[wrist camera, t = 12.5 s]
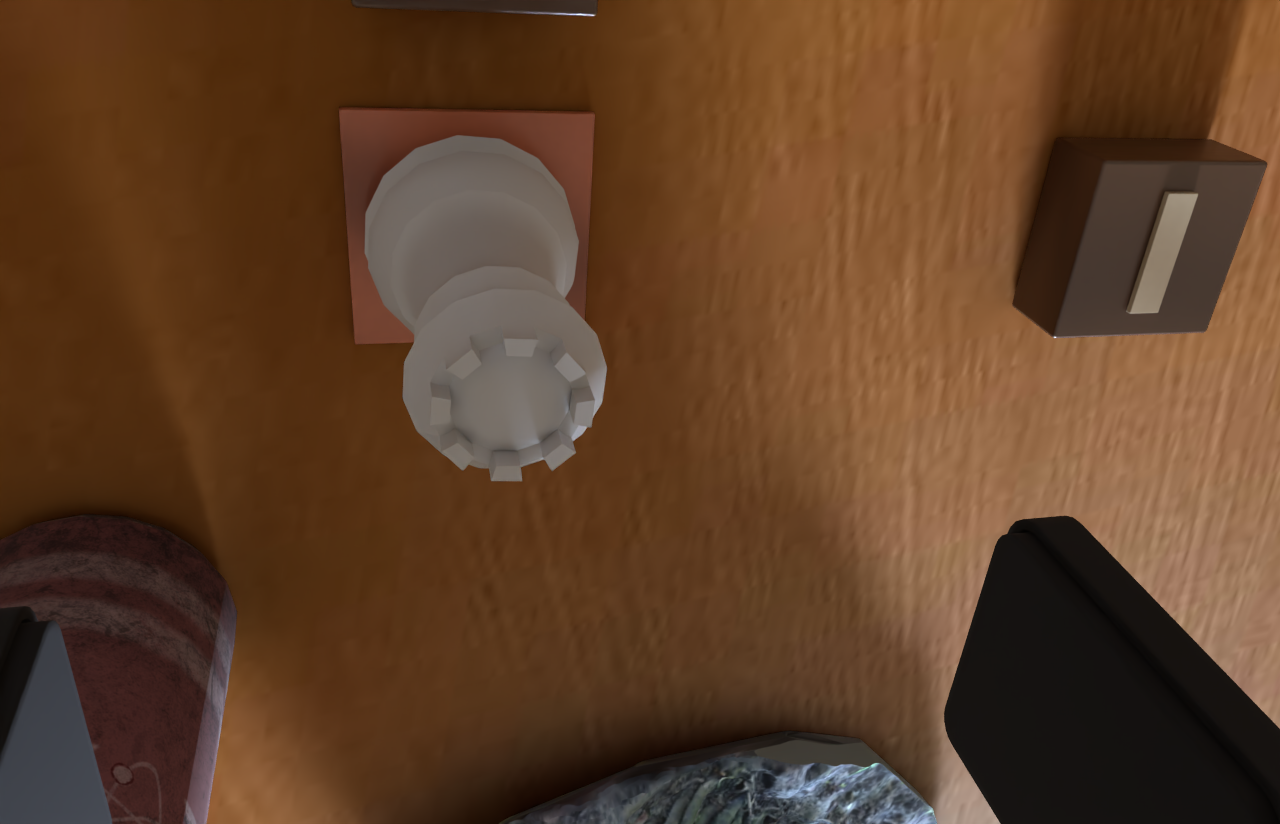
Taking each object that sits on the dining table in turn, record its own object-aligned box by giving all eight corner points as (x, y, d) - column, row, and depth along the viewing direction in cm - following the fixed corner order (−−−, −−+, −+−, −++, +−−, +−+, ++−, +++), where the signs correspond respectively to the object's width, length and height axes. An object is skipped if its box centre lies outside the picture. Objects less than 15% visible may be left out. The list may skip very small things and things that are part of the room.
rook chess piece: (433, 359, 24) (459, 576, 17) (319, 193, 22) (299, 371, 15) (605, 266, 24) (700, 448, 17) (510, 89, 21) (577, 220, 15)
